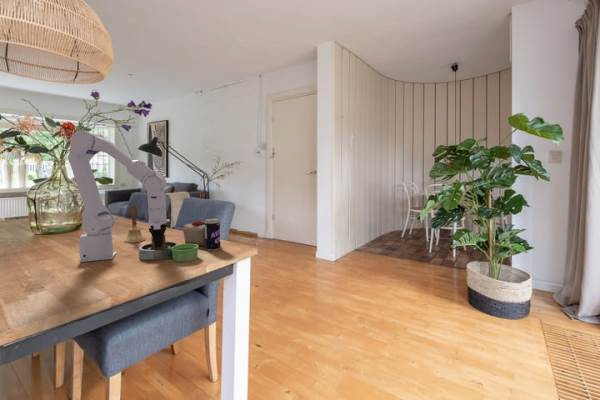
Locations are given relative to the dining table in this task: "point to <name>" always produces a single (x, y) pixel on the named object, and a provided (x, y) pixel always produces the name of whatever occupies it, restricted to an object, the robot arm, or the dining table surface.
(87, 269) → the dining table surface
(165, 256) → the grey metal bowl
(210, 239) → the beverage can
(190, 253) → the ramekin
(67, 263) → the dining table surface
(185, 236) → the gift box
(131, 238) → the hand bell
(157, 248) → the tan wooden block
